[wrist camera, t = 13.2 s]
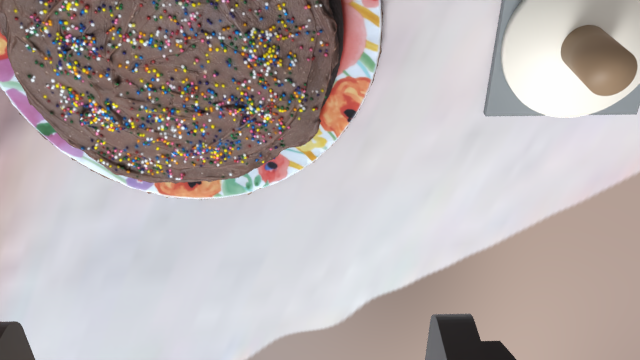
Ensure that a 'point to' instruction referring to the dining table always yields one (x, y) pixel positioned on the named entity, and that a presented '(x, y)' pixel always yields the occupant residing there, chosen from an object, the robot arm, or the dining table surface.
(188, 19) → the chocolate cake
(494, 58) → the mat
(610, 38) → the cover
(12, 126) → the dining table surface
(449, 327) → the robot arm
